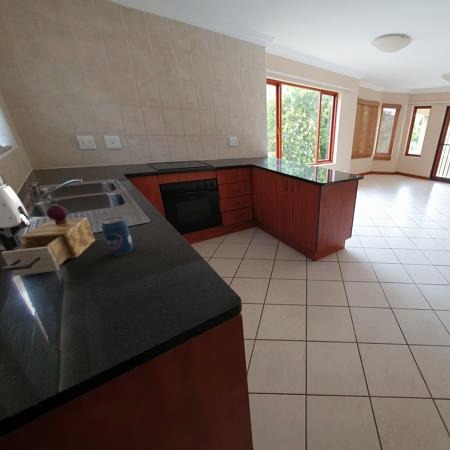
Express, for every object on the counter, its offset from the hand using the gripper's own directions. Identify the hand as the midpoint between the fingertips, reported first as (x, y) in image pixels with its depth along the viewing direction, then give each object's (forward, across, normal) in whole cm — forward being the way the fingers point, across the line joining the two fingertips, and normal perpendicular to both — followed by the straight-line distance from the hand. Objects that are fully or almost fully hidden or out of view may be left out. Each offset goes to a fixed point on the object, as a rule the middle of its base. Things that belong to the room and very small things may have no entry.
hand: (14, 248), depth 65 cm
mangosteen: (+1, 0, +21) cm, 21 cm away
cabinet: (+11, 0, +18) cm, 21 cm away
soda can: (+11, +19, +12) cm, 25 cm away
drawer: (+10, 0, +6) cm, 11 cm away
